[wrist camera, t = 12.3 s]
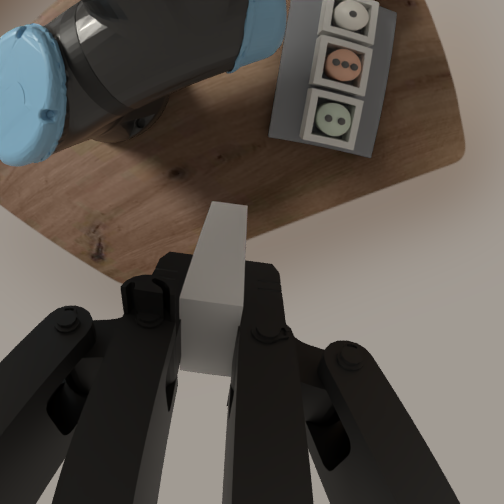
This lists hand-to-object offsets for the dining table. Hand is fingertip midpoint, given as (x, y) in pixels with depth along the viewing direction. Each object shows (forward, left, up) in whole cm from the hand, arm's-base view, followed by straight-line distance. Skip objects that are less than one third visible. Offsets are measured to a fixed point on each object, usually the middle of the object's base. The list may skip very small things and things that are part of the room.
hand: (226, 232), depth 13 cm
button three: (+10, +12, -27) cm, 31 cm away
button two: (+10, +5, -27) cm, 29 cm away
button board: (+10, +12, -28) cm, 32 cm away
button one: (+10, +19, -27) cm, 34 cm away
